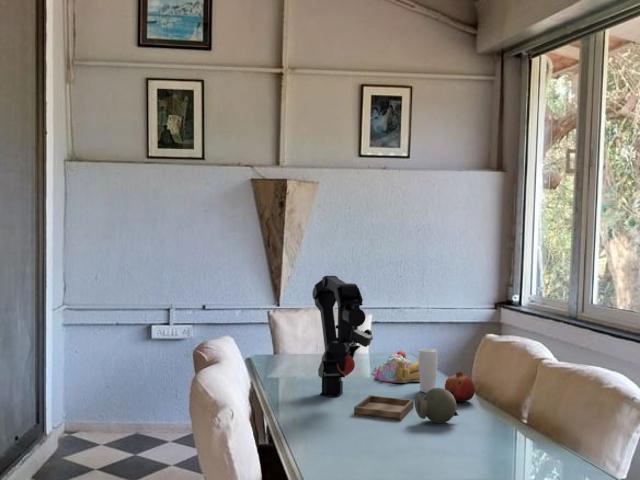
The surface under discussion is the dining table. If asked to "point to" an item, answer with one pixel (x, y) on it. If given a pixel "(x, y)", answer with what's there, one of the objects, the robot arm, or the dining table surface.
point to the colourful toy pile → (398, 369)
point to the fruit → (460, 387)
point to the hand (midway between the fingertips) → (345, 369)
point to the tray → (384, 407)
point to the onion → (348, 365)
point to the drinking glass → (427, 368)
